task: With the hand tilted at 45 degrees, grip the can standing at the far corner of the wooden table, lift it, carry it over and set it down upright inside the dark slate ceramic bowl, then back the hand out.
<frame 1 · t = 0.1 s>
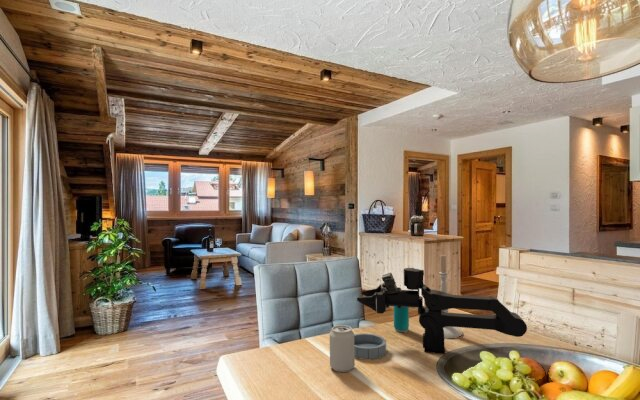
hand: (359, 295, 126), 17 cm above the table, tool horizontal, fingers open, 9 cm apart
candlestick: (444, 333, 135), on the table
can: (342, 368, 106), on the table
bowl: (366, 350, 118), on the table
beverage can: (401, 330, 137), on the table
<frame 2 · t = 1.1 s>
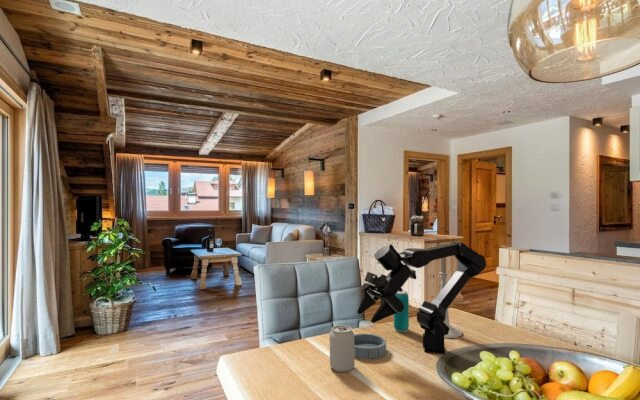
hand: (364, 317, 110), 14 cm above the table, tool tilted 45°, fingers open, 9 cm apart
nothing on the table moved.
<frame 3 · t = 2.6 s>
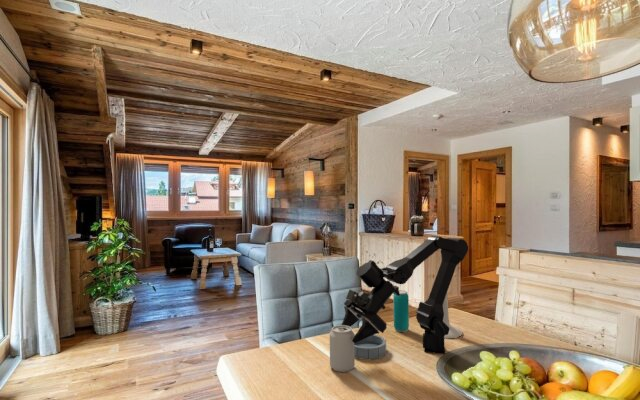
hand: (346, 336, 107), 9 cm above the table, tool tilted 45°, fingers open, 9 cm apart
nothing on the table moved.
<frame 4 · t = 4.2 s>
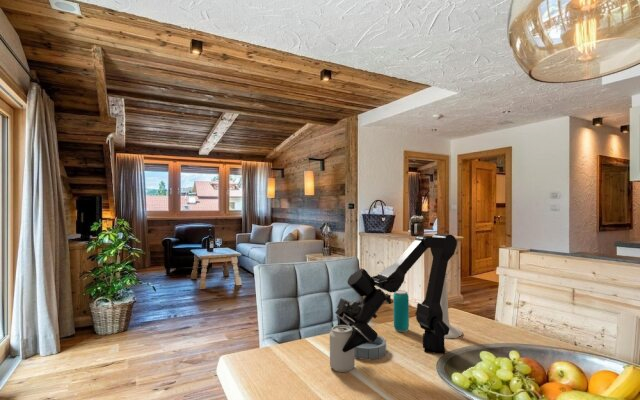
hand: (337, 346, 106), 7 cm above the table, tool tilted 45°, fingers closed on can, 7 cm apart
can: (342, 368, 106), on the table, touching gripper
everything else where it was.
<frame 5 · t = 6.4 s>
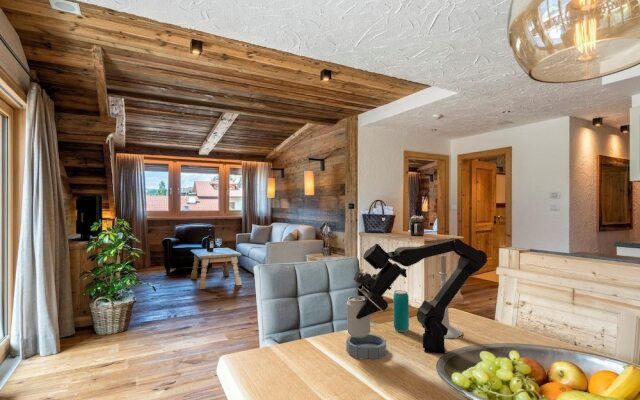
hand: (354, 314, 115), 13 cm above the table, tool tilted 45°, fingers closed on can, 7 cm apart
can: (359, 334, 115), point 7 cm above the table, touching gripper
everything else where it was.
when the fingers open (9 cm above the table, at t = 8.7 s): can drops 1 cm, resting on bowl.
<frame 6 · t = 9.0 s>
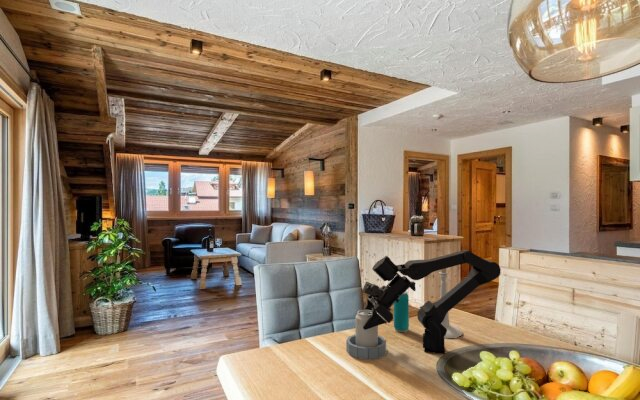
hand: (361, 324, 118), 9 cm above the table, tool tilted 45°, fingers open, 9 cm apart
can: (366, 348, 118), point 1 cm above the table, touching bowl
everything else where it was.
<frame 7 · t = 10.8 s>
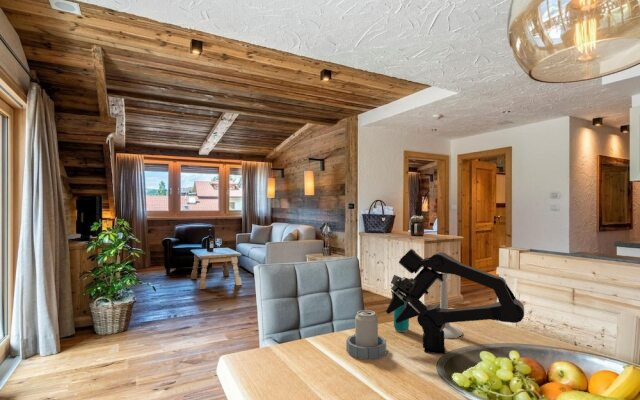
hand: (391, 317, 118), 11 cm above the table, tool tilted 45°, fingers open, 9 cm apart
nothing on the table moved.
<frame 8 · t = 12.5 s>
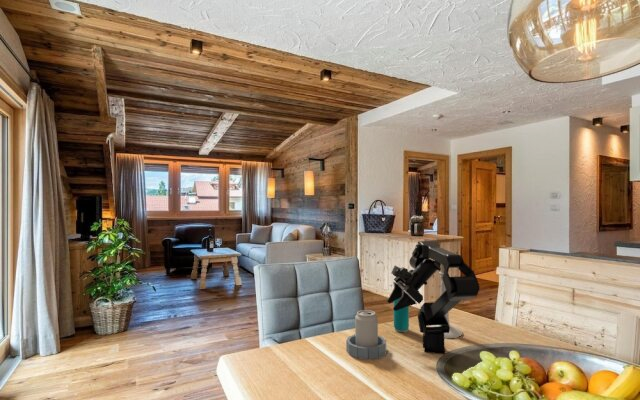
hand: (390, 305, 124), 14 cm above the table, tool tilted 45°, fingers open, 9 cm apart
nothing on the table moved.
at the end: can 0.2 cm off-centre on the bowl, point 0.8 cm above the bowl's base; can tilted 0°; the gripper is holding nothing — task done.
